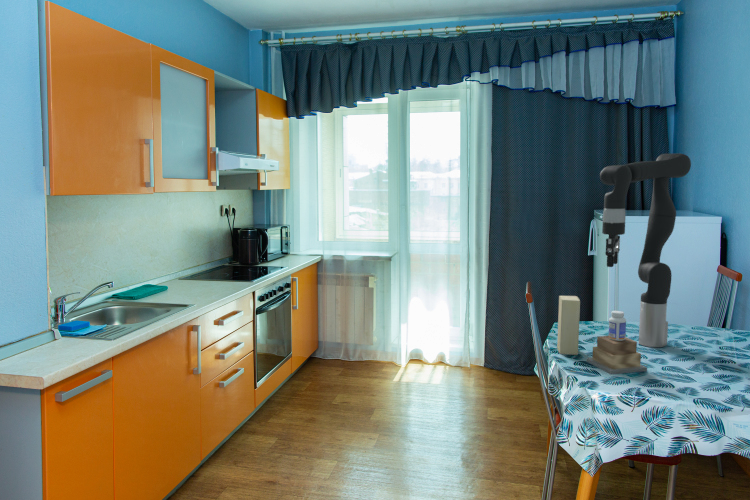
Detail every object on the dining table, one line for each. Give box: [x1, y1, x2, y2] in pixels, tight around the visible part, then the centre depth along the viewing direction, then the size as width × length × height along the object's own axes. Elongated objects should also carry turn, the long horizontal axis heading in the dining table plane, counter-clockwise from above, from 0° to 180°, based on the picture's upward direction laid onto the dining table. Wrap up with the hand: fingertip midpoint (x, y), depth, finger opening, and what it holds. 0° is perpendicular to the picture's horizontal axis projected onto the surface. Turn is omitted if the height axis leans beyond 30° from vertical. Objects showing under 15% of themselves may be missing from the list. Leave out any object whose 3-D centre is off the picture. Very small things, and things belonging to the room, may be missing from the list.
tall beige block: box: [556, 295, 581, 356], centre depth 203 cm, size 8×7×21 cm
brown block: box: [591, 335, 642, 369], centre depth 186 cm, size 11×11×8 cm
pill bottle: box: [608, 310, 627, 341], centre depth 185 cm, size 5×5×10 cm
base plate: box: [585, 357, 648, 375], centre depth 187 cm, size 14×14×1 cm
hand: (612, 265), depth 195 cm, fingers open, 8 cm apart
